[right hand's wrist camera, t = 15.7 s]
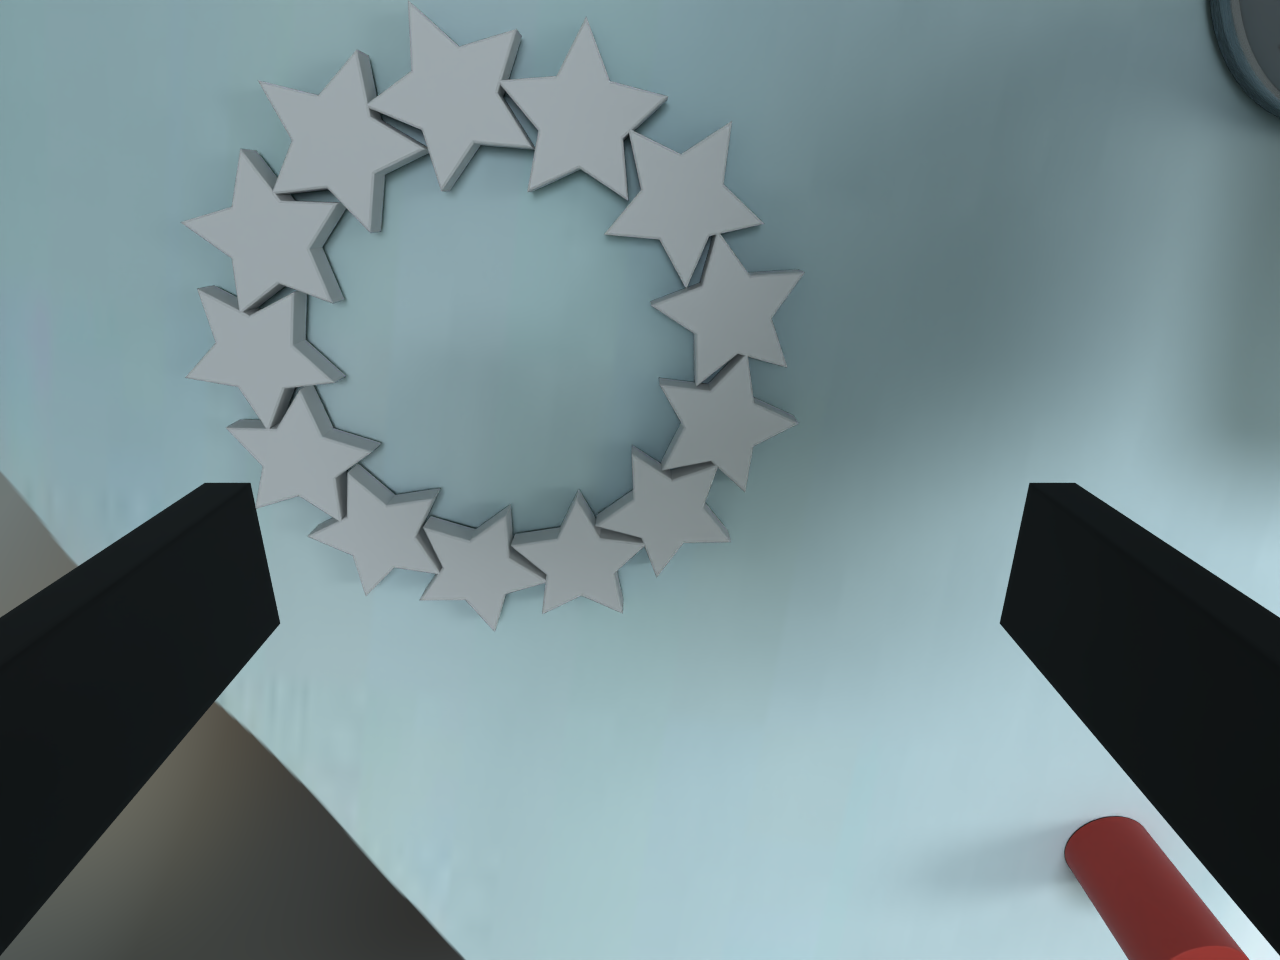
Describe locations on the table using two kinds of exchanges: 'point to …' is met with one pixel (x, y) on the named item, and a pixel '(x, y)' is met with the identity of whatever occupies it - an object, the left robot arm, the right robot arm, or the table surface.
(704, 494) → the decorative wreath
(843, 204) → the table surface
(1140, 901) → the canister
